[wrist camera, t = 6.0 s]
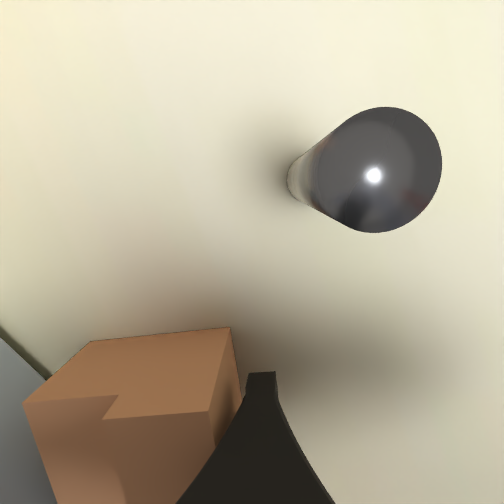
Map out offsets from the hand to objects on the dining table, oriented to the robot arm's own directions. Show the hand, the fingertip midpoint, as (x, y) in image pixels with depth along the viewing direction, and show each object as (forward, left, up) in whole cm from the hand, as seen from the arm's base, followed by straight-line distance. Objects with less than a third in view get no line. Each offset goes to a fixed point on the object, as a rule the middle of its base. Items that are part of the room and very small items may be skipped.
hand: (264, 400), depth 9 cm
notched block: (+3, 0, -1) cm, 4 cm away
